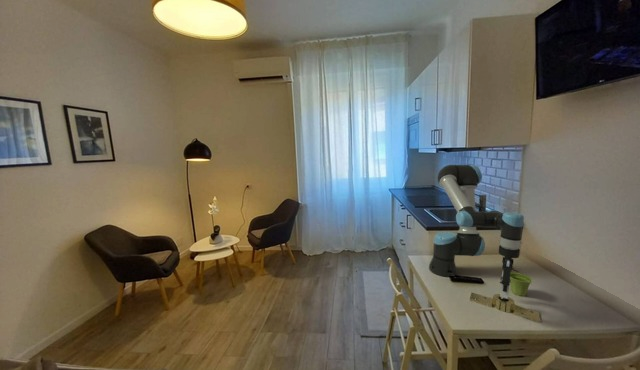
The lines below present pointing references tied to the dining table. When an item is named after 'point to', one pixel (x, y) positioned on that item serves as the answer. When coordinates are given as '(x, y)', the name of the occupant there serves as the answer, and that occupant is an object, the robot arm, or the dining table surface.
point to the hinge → (505, 306)
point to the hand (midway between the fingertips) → (504, 290)
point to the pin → (502, 297)
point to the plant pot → (519, 283)
